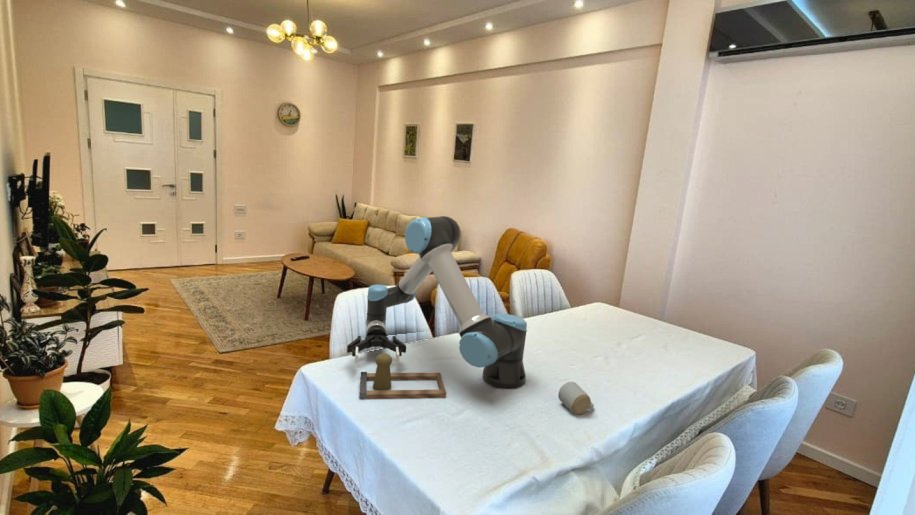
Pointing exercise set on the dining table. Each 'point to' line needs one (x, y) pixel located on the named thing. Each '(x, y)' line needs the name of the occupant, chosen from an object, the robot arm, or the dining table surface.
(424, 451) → the dining table surface
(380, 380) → the cork
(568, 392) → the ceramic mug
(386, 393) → the walnut channel
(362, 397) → the end stop
